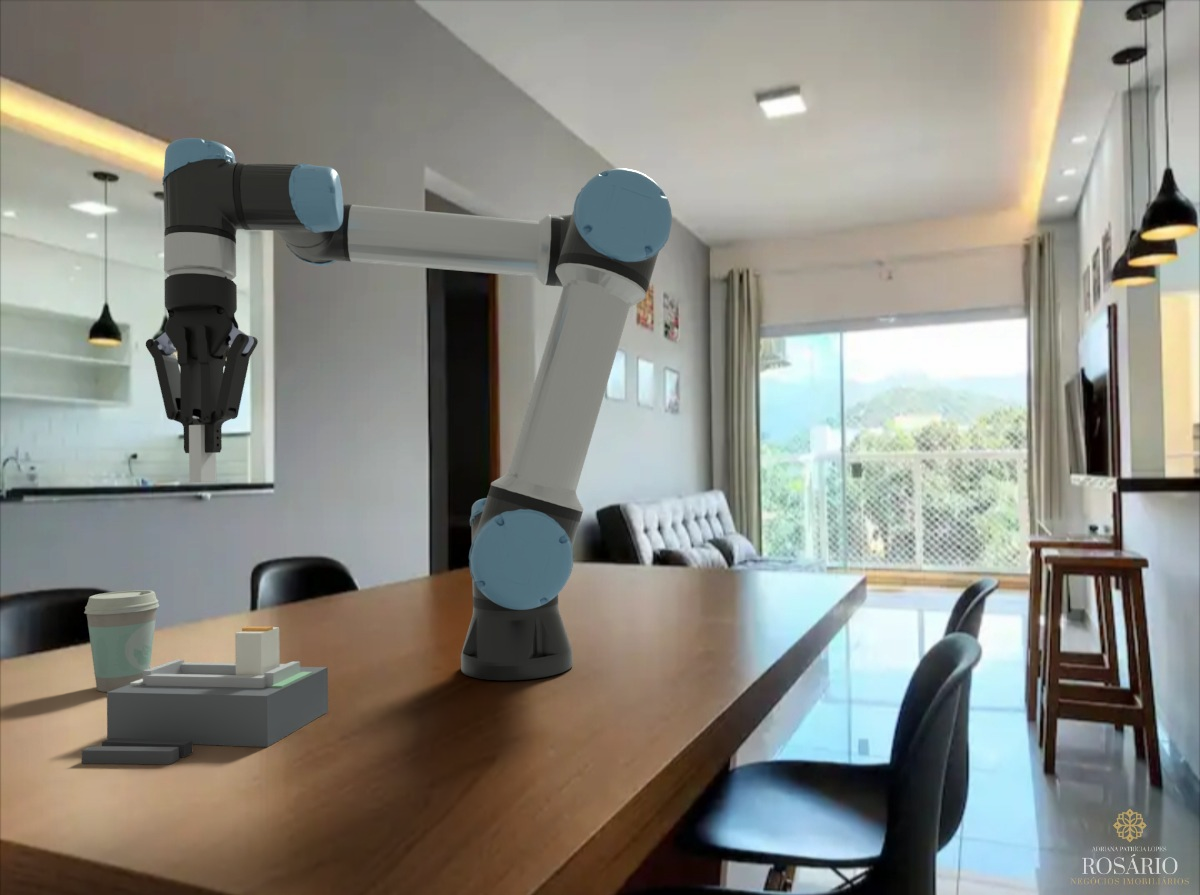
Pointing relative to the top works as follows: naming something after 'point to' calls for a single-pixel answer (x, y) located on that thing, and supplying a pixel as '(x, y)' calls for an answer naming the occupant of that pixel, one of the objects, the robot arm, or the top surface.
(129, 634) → the coffee cup
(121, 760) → the dark gray bar
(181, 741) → the dark grey long bar
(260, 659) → the white upright block
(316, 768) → the top surface
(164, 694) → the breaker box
